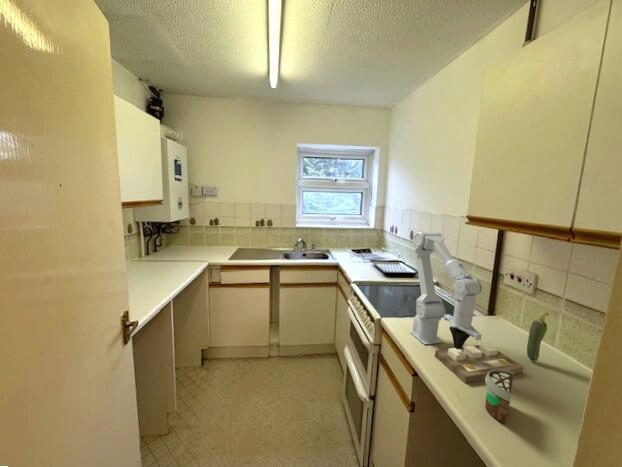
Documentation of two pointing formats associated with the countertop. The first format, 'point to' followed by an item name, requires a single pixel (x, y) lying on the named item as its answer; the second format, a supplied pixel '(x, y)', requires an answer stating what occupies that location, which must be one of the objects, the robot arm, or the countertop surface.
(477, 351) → the middle button
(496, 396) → the food container
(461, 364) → the button board
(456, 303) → the robot arm
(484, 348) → the far button
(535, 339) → the vegetable
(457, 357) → the near button
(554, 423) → the countertop surface
